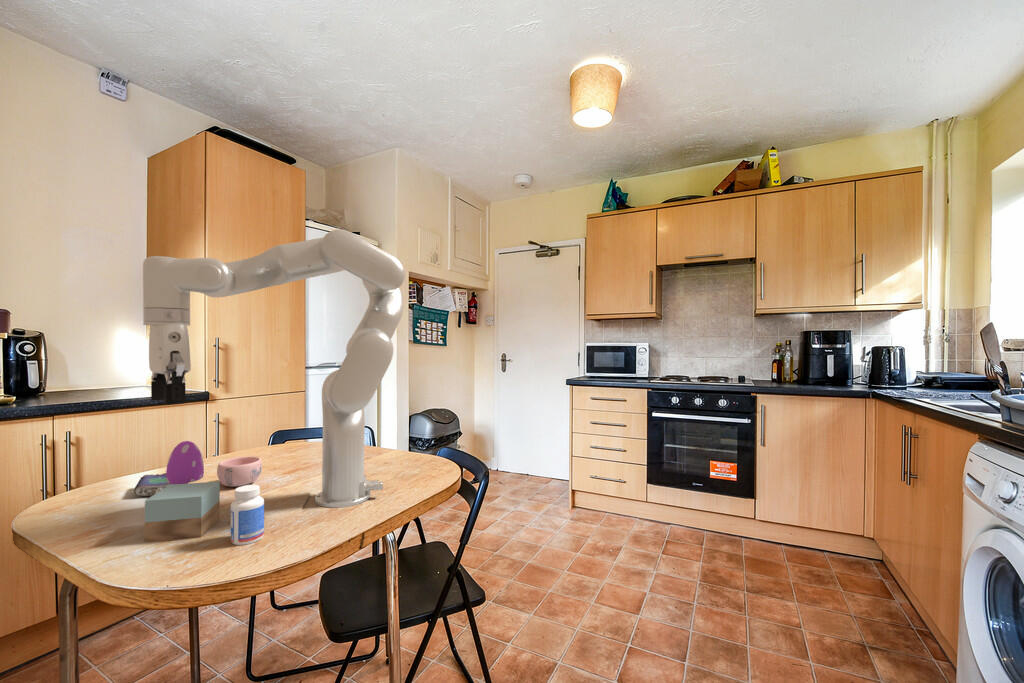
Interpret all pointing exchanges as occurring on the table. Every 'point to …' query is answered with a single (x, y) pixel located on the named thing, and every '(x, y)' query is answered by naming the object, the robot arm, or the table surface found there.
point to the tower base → (182, 526)
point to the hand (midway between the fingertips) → (168, 401)
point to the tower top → (182, 501)
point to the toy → (185, 464)
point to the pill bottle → (247, 515)
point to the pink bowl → (239, 471)
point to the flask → (151, 485)
